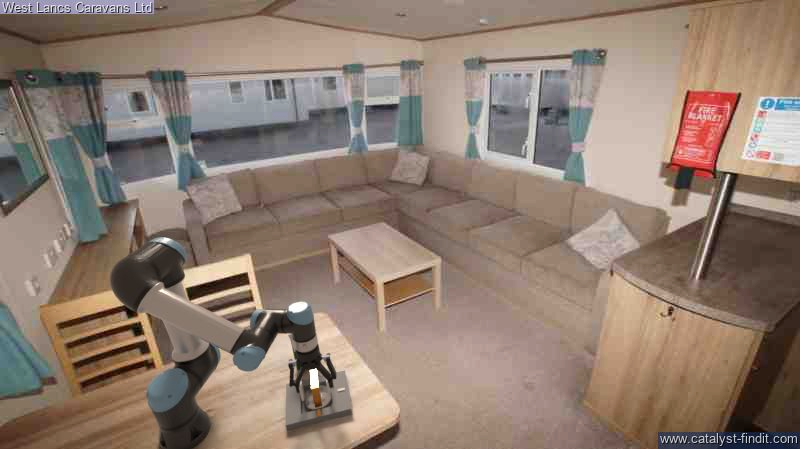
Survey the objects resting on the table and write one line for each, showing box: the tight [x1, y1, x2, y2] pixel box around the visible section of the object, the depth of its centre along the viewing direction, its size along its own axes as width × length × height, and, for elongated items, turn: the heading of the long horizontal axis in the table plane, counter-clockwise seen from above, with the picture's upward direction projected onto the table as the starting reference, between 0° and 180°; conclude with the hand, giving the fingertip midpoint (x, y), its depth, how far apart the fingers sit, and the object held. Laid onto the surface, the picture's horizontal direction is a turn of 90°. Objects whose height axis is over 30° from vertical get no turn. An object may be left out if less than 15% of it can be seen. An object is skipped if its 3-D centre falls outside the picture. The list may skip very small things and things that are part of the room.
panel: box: [285, 370, 353, 431], centre depth 136 cm, size 22×18×3 cm
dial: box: [304, 369, 332, 411], centre depth 134 cm, size 10×10×10 cm
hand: (316, 395), depth 133 cm, fingers open, 8 cm apart
